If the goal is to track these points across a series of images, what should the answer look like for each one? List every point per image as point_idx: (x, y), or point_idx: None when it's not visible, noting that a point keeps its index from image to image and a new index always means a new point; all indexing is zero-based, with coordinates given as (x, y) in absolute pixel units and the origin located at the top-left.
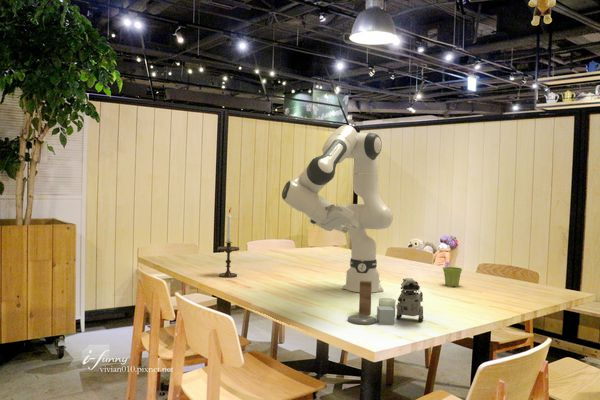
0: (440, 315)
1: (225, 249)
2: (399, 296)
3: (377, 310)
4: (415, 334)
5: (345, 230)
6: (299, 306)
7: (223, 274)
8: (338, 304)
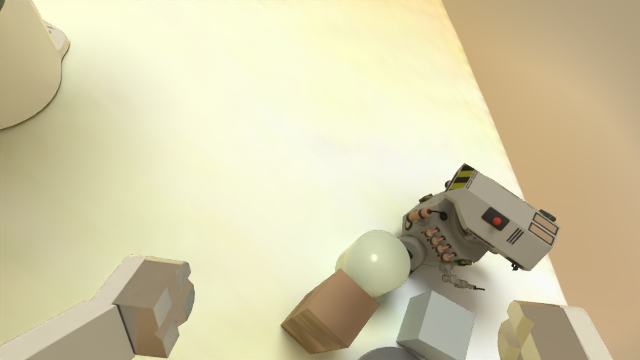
0: (401, 132)
1: None
2: (460, 257)
3: (416, 342)
4: None
5: (175, 308)
6: None
7: None
8: None
